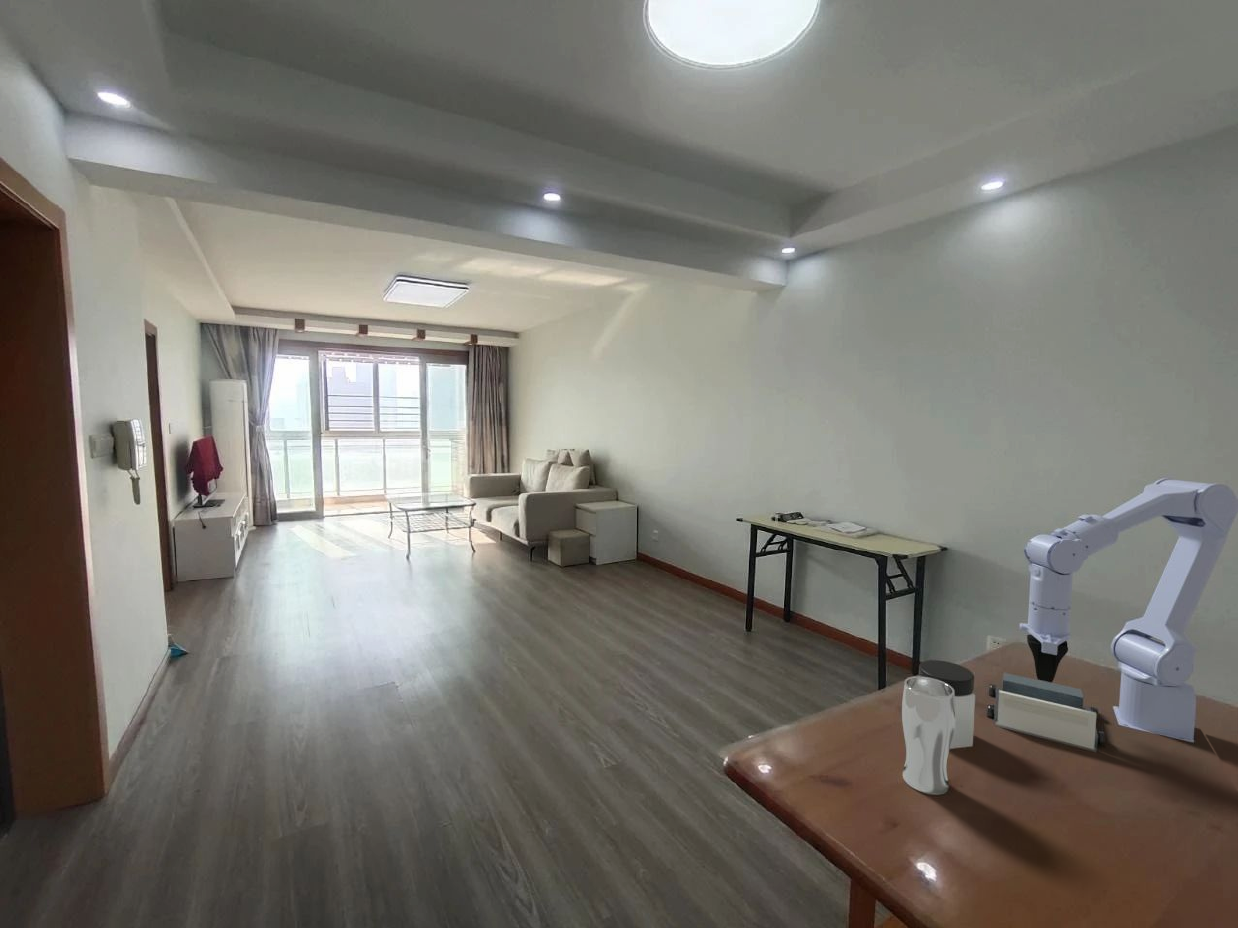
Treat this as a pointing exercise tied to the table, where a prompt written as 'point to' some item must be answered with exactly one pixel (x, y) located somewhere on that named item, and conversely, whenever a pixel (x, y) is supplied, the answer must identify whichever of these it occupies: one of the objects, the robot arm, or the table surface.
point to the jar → (956, 696)
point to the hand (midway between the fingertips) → (1044, 679)
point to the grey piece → (1042, 696)
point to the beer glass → (927, 733)
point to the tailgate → (1047, 720)
